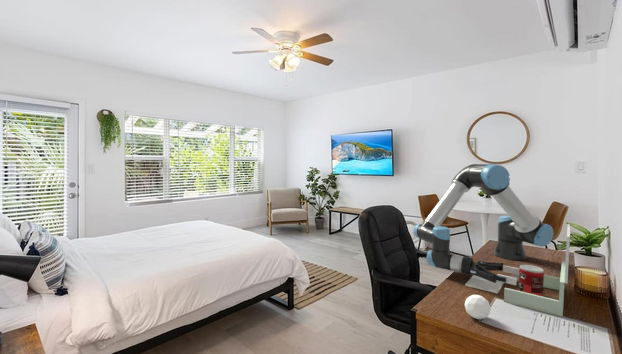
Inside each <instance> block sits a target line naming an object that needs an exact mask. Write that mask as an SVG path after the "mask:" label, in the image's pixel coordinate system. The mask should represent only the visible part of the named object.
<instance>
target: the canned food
mask: <svg viewBox="0 0 622 354" xmlns="http://www.w3.org/2000/svg"><path fill="white" fill-rule="evenodd" d="M518 268H519V281H518V291H521V292H526V293H530V294H534V295H538V296H542V297H544V287H543V283H544V275H545V270H544V268H541V267H539V266H536V265H532V264H520V265H519V267H518Z"/></svg>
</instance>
